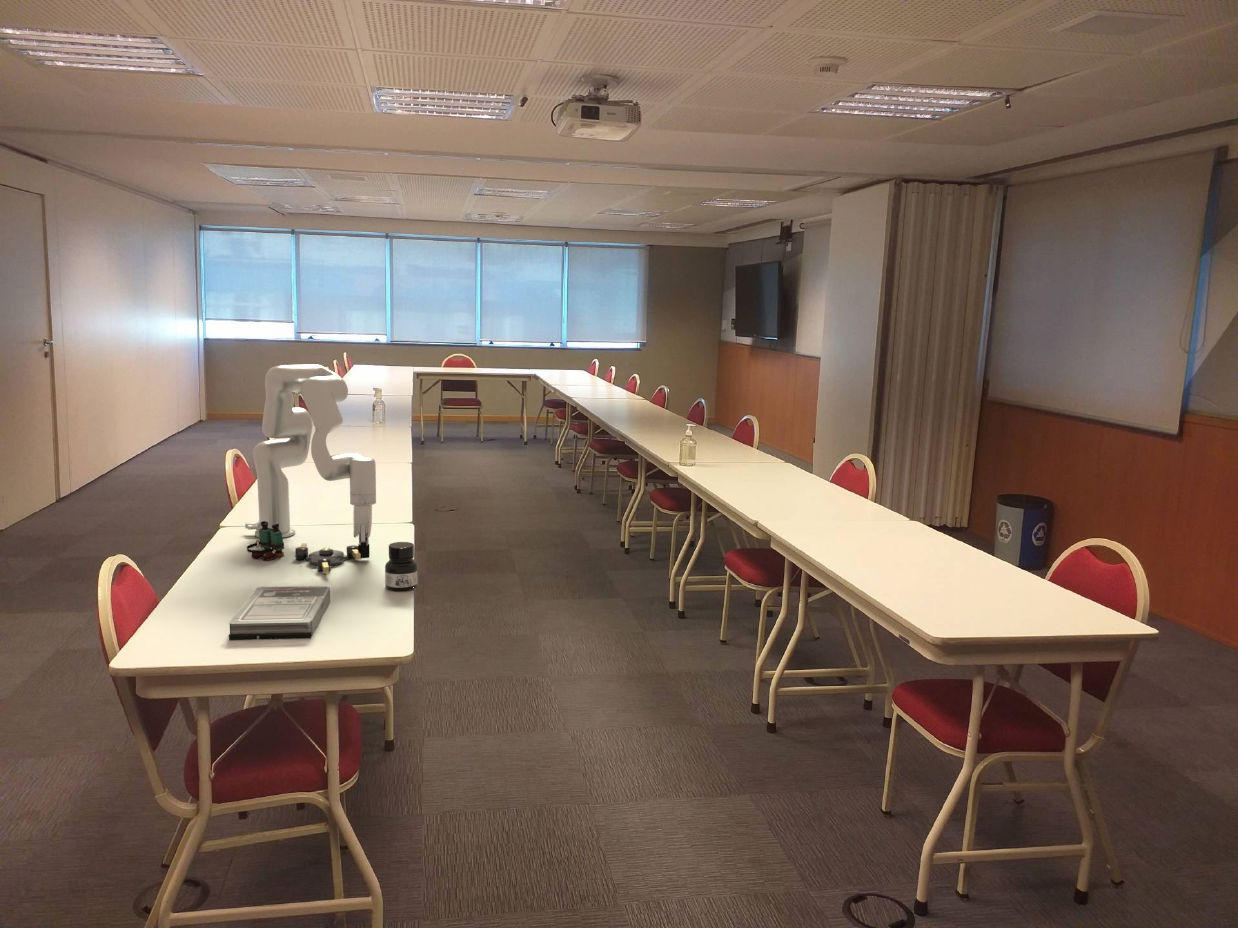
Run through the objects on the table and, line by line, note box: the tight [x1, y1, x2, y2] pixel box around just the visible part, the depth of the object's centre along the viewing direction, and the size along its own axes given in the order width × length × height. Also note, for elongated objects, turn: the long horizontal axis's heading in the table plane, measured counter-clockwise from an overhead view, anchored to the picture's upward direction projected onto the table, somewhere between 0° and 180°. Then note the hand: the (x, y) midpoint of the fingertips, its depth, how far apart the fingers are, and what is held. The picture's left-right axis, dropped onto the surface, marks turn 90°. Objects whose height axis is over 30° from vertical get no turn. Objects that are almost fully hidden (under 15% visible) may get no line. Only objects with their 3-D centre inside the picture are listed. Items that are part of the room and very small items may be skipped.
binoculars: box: [246, 521, 285, 562], centre depth 271 cm, size 9×11×10 cm
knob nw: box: [295, 542, 309, 562], centre depth 274 cm, size 9×4×3 cm, turn 13°
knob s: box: [317, 558, 332, 574], centre depth 258 cm, size 9×4×3 cm, turn 23°
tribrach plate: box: [305, 547, 348, 568], centre depth 268 cm, size 12×11×4 cm
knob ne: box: [346, 544, 362, 561], centre depth 272 cm, size 9×4×3 cm, turn 29°
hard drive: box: [228, 585, 331, 641], centre depth 221 cm, size 18×27×4 cm
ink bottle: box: [384, 541, 419, 592], centre depth 247 cm, size 10×9×12 cm
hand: (364, 557), depth 272 cm, fingers closed
